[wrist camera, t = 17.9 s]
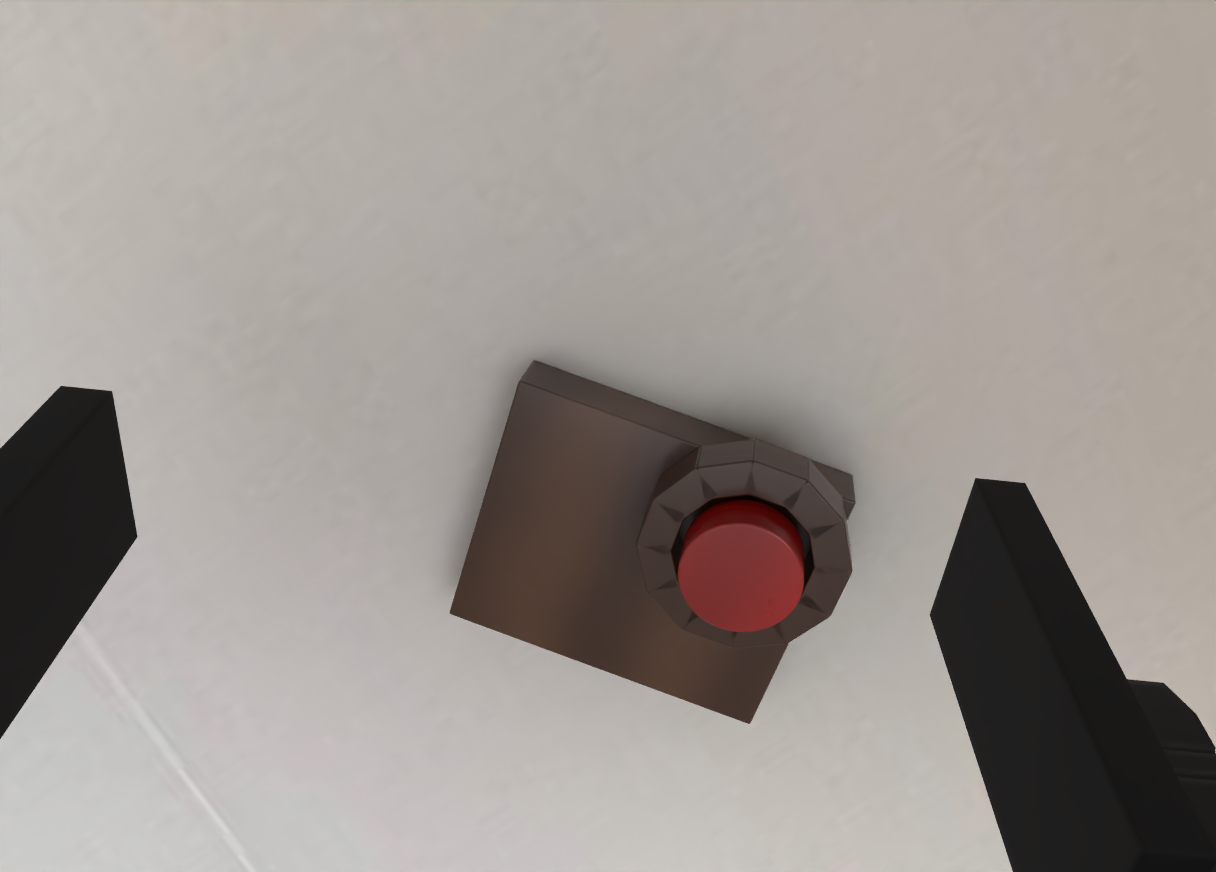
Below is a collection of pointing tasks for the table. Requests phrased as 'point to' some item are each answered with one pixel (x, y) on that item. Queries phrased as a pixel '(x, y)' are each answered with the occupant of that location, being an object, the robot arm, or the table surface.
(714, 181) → the table surface
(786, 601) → the button
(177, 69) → the table surface
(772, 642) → the control block
